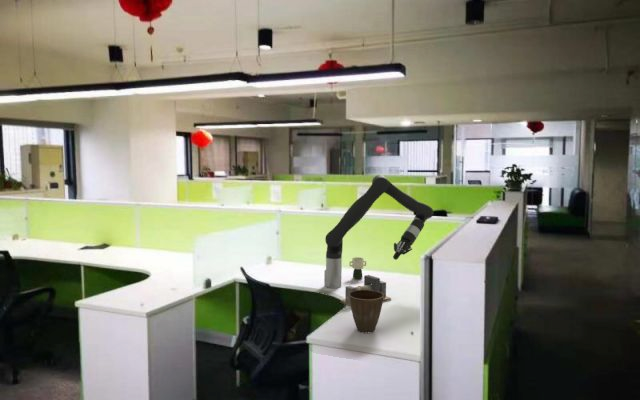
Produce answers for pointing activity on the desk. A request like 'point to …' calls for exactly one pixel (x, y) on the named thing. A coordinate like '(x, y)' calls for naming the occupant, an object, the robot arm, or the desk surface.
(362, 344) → the desk surface
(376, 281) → the gray notched block
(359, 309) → the plant pot
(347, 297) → the pipe stand
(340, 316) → the desk surface
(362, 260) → the trophy cup
